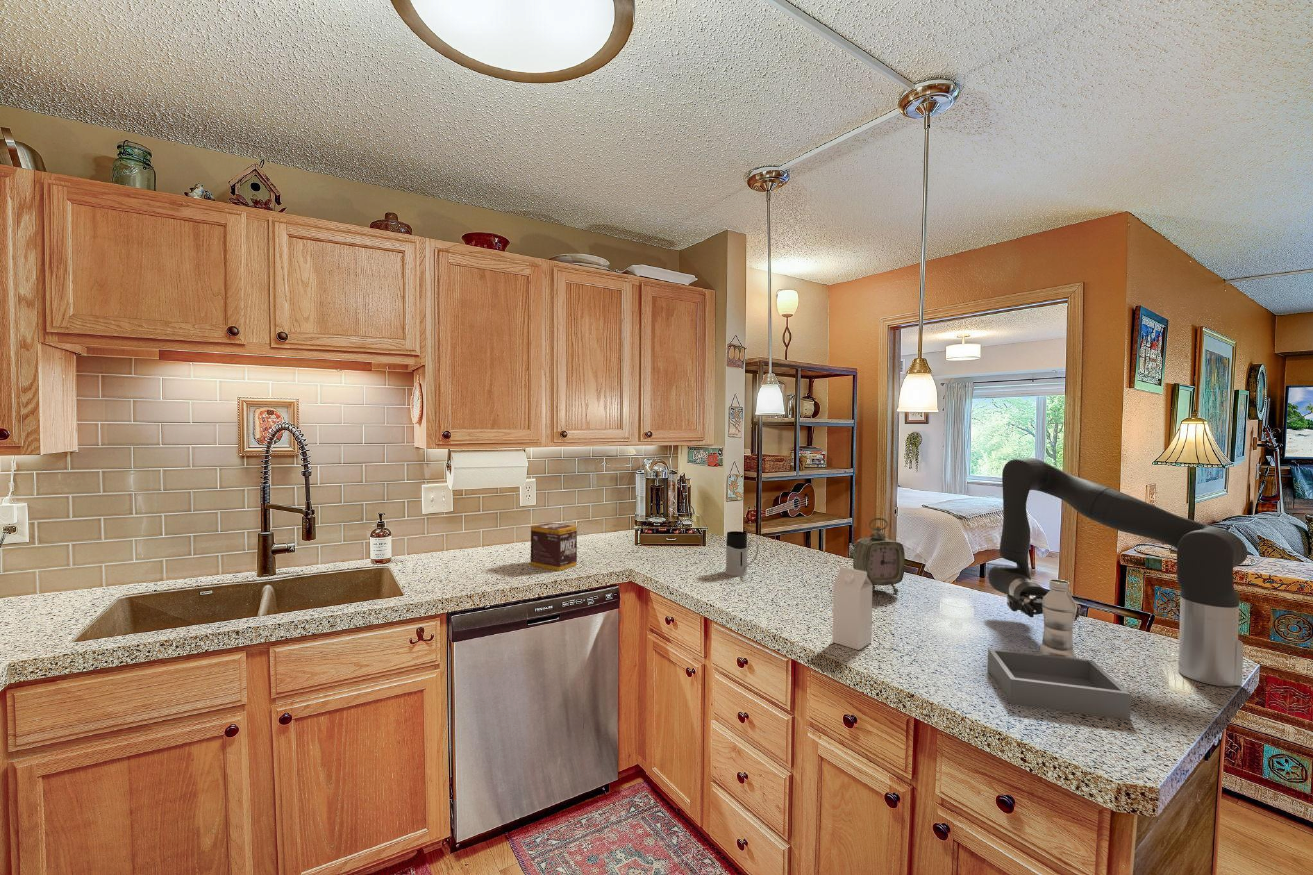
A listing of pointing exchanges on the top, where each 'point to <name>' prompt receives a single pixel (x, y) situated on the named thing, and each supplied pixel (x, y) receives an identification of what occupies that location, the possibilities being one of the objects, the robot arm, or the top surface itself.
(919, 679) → the top surface
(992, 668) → the bin
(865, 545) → the tabletop clock
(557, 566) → the supplement box
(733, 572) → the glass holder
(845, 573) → the milk carton
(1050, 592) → the silver bottle
